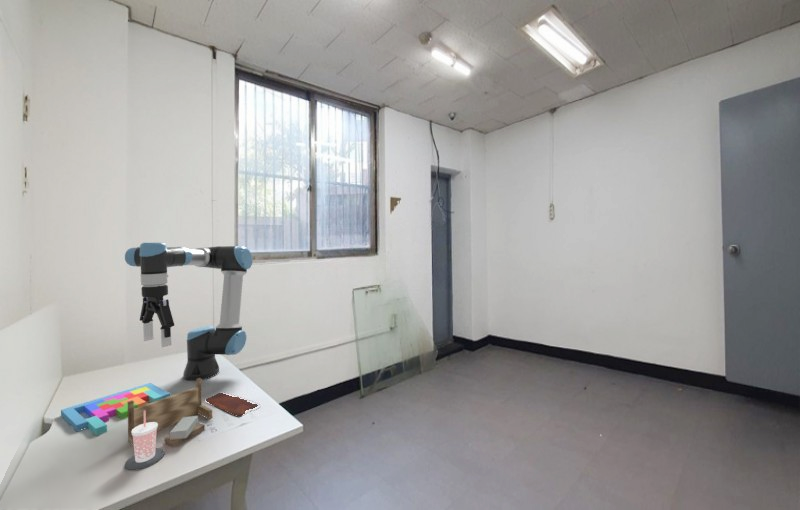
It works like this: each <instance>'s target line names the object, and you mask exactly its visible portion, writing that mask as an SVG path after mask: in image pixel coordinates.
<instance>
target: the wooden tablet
mask: <svg viewBox="0 0 800 510" xmlns="http://www.w3.org/2000/svg"><path fill="white" fill-rule="evenodd" d="M240 398H241V397H240ZM240 398H239V396H237V397H232V396H229V395H226V394H223V393H220V392H217V393H216V394H214V396H213V395H211V396H209V397H207V398H206V401H207V402H209V403H210V404H212V405H211V406H213V405H214V406H213V407H215V406H216V407H215V408H218V407H219V408H218V409H220V408H221V410H222V409H223V411H224V410H226V411H228V412H227V413H229V412H230V413H232V414H234V415H233V416H235V415H237V416H236V417H238V416H241V417H243V416H244V415H243V414H245V411H246V410H249V409H253V408H255V407H257V406H258V405H257V404H258V403H257V404H252V403H250V402H247V400H248V399H247V400H244V399H245V398H244V399H240ZM210 404H209V405H210ZM226 411H225V412H226ZM230 413H229V414H230ZM232 414H231V415H232ZM242 415H243V416H242ZM245 415H246V414H245Z"/></svg>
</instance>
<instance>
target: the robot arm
mask: <svg viewBox="0 0 800 510" xmlns="http://www.w3.org/2000/svg"><path fill="white" fill-rule="evenodd" d="M124 261H125V262H126V265H128V266H132V267H138V268H140V285H141V286H142V287H141V289H140V290H141V297H142V305H141V310H140V315H139V321H141V322H142V324H143V327H142V328H143V342H148V341H151V340H154V326H153V325H154V324H153V322H154V319H153V318H154V315H155V314H156V316H157V319H158V320H159V324H160V325H161V326H160V337H161V338H160V339H161V348H166V347H169V346H172V331H171V330H172V327H174V326H175V321H174V317H173V314H172V311H171V308H170V307H171V306H170V300H169V299H164V296H167V295H169V285H167V284H168V277H169V275H168V268H173V267H183V266H195V267H197V268H208V269H209V268H210V269H217V270H220V272H221V274H223V285H222V293H221V294H222V295H221V304H220V305H221V306H220V317H219V318H220V319H219V324H217V325H216V326H213V325H212V326H211V325H209V326H205V327H200V328H194V329H192V330H190V331H189V332H188V333H187V336H186V348H187V351H186V353H187V357H186V358H187V361H186V365H185V367H184V370H183V373H182V374H183V378H182V379H183V380H185V381H196V379H198V378H201V379H202V380H205V378H206V379H209V378H212V377H214V376H216V375H218V374H219V373H220V366H219V364H218V361H217V358H216V355H221V356H222V355H223V356H224V355H226V356H231V355H232V356H233V355H237V354H240V353H241V351H242V350H243V349H244V347H245V346H246V342H247V334H246V331H245V330H243V325H242V324H241V323H240V317H241V305H242V293H243V281H244V280H243V278H244V276H245V275H246V274H247V270H249V269H251V268H252V265H253V255H252V253H251V251H250V249H249V248H248V247H246V246H239V245H234V246H233V245H231V246H229V245H228V246H210V247H197V248H195V249H191V248H190V249H189V248H187V247H184V246H183V247H182V246H175V247H174V246H172V247H171V246H170V247H169V246H168V247H167V244H166V243H165V242H142V243H140V245H139V246H137V247H131V248H129V249H127V250H126V252H125V253H124ZM218 372H219V373H218ZM217 373H218V374H217ZM215 374H216V375H215ZM213 375H214V376H213ZM211 376H212V377H211ZM208 377H209V378H208Z"/></svg>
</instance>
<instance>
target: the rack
mask: <svg viewBox="0 0 800 510" xmlns="http://www.w3.org/2000/svg"><path fill="white" fill-rule="evenodd" d="M195 381H196V382H195V383H196V384H195V387H193V388H190V389H187V390H186V389H185V390H183V391H182V392H178V393H175V394H172V395H170V396H169V397H166V398H163V399H161V400H158V401H155V402H152V403H151V402H149V403H146V405H143V406H141V407H138V408H135V409H134V401H129V402H128V417H127V434H128V435H127V436H128V438H127V439H128V443H129V444H131V445H132V446H134V443H133V435H132V433H131V431H132V429H133V428H135V427H136V426H139V425H141V424H144V410H146V423H148V422H157V423H158V427H157V432H158V431H162V429H165V428H168V427H170V426H172V425H175V424H178V423H179V421H180V420H181V419H182V418H183V417H191V416H197V415H200V414H201V416H202V415H203V417H204V416H205V417H204V418H206V417H207V418H206V419H208V420H210V419H212V418H213V409H211V408H210V407H208V406H205V405H203V404H202V402H203V401H202V399H203V398H202V396H203V395H202V393H203V392H202V380H201V378H198V379H196V380H195ZM198 413H199V414H198ZM196 414H197V415H196Z"/></svg>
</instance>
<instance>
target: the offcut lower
mask: <svg viewBox="0 0 800 510" xmlns="http://www.w3.org/2000/svg"><path fill="white" fill-rule="evenodd" d="M205 425H206V424H203V423H199V422H198V424H197V425H196V426H195V428H194V429H193V430H192V432H191V433H190V434H189V435H188V437H187V438H182V439H173V440H170V434H169V435H167V436H166V437H164V444H165V445H167V446H171V447H174V448H176V447H178V446H180V445H182V444H184V443H185V442H187V441H189V440H190V439H192V438H194V437H195V436H197V435H199V434H201V433H202V432H204V431H206V429H205V428H206V427H205Z"/></svg>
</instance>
